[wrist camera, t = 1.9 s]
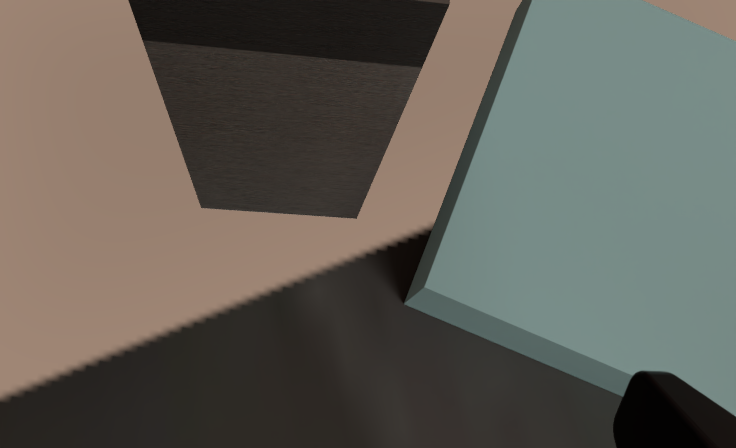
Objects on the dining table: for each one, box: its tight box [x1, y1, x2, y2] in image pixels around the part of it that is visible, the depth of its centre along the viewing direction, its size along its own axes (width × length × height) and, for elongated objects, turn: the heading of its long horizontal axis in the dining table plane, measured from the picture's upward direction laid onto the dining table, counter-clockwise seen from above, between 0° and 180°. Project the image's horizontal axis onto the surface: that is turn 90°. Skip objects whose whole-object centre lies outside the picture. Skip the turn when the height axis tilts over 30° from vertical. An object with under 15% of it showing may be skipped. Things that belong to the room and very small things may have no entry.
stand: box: [404, 0, 736, 416], centre depth 22 cm, size 12×12×3 cm
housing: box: [129, 0, 450, 219], centre depth 16 cm, size 5×5×12 cm
